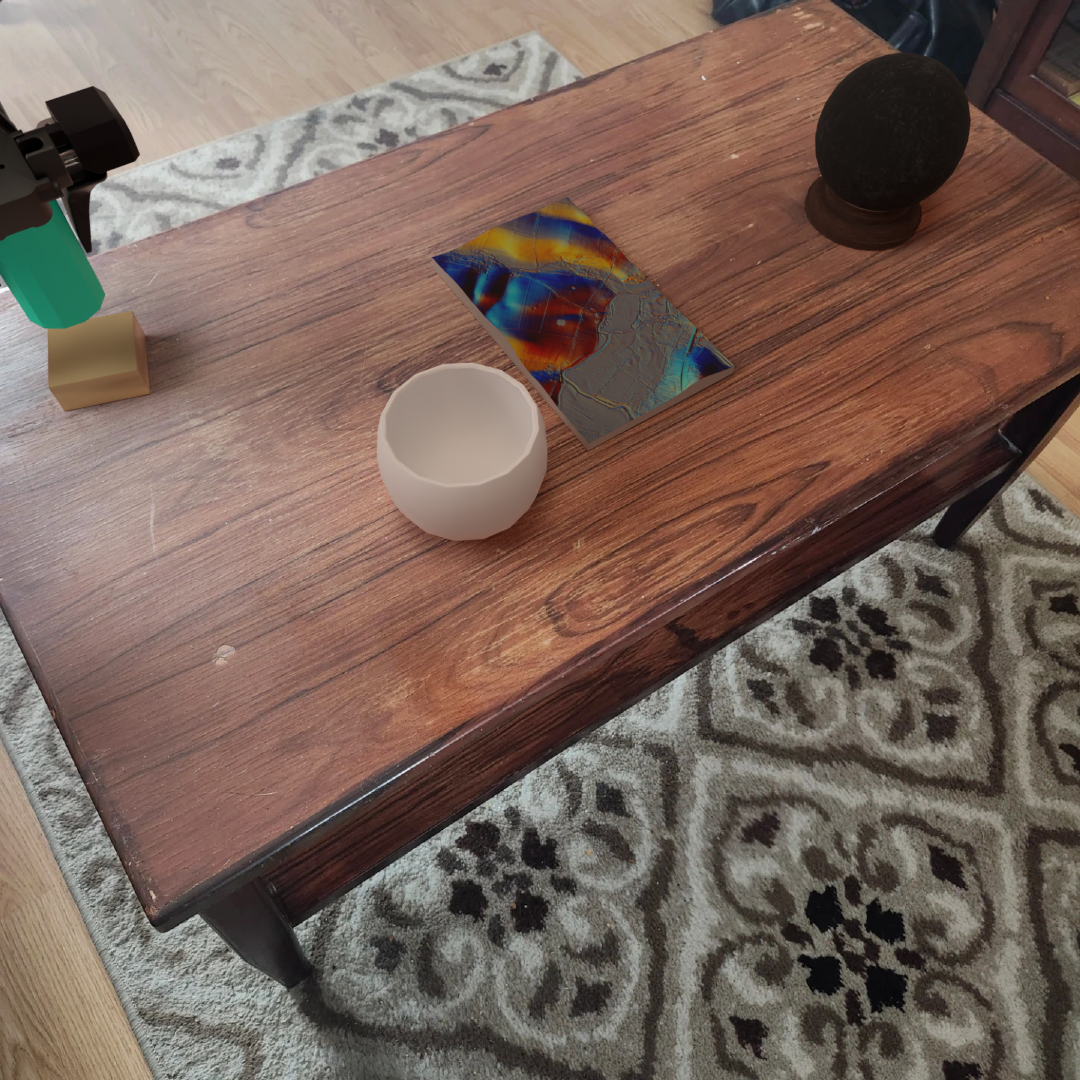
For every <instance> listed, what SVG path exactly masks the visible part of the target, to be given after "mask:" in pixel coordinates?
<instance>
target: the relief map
mask: <svg viewBox="0 0 1080 1080" xmlns="http://www.w3.org/2000/svg"><path fill="white" fill-rule="evenodd" d="M431 266H432V269H433V270H434V271H435V272H436V273H437V275H438V276H439V277H440V278H441V279H442V280H443V282H444V283H445V284H446V286H448V288H449V289H450V290H451V291H452V292H453V294H454V295H455V296H456V297H457V298H458V299H459V301H460V302H461V303H462V304H463V306H465V308H466V309H467V310H468V311H469V313H471V315H472V316H473V317H474V318H475V319H476V320H477V322H478V323H479V324H480V325H481V326H482V328H483V329H484V330H485V332H487V334H488V335H489V336H490V337H491V339H492V340H493V341H494V342H495V343H496V344H497V345H498V346H499V347H500V349H501V350H502V351H503V352H504V354H505V355H506V356H507V357H508V358H509V359H510V361H511V362H512V363H513V364H514V366H515V367H516V369H518V370H519V371H520V373H521V374H522V375H523V376H524V377H525V378H526V380H527V381H528V382H529V383H530V384H531V385H532V387H533V388H534V389H535V390H536V391H537V392H538V394H539V395H540V396H541V397H542V398H543V400H544V401H545V402H546V403H547V404H548V405H549V407H550V408H551V409H552V410H553V412H555V414H556V415H557V416H558V417H559V418H560V419H561V421H562V422H563V423H564V424H565V425H566V427H567V428H568V429H569V430H570V432H571V433H572V434H573V435H574V436H575V437H576V439H577V440H578V441H579V442H580V443H581V445H583V447H584V448H585V449H586V450H587V451H590V450H592V449H594V448H596V447H598V446H599V445H601V444H603V443H605V442H607V441H609V440H611V439H612V438H615V437H617V436H618V435H620V434H622V433H624V432H625V431H627V430H629V429H631V428H634V427H635V426H637V425H639V424H641V423H643V422H644V421H646V420H648V419H650V418H652V417H654V416H656V415H657V414H659V413H661V412H663V411H665V410H667V409H669V408H671V407H672V406H674V405H676V404H678V403H680V402H682V401H684V400H685V399H687V398H690V397H691V396H693V395H695V394H696V393H699V392H701V391H703V390H704V389H706V388H708V387H710V386H712V385H714V384H715V383H717V382H720V381H721V380H723V379H726V378H727V377H729V376H730V375H733V374H734V369H735V366H736V365H734V364H733V362H732V361H731V360H730V359H729V358H728V357H726V356H725V354H723V353H722V352H721V350H719V349H718V348H717V346H715V345H714V344H713V343H712V342H711V341H710V340H709V339H708V338H707V337H706V336H705V335H704V334H703V333H702V332H701V331H700V330H699V328H698V327H697V326H695V325H694V324H693V323H692V322H691V321H690V320H689V319H688V318H687V317H686V316H685V315H684V314H683V313H681V311H679V310H678V308H676V307H675V306H674V305H673V304H672V303H671V302H670V300H668V299H667V298H666V297H665V295H664V294H662V293H661V291H660V290H658V289H657V287H655V286H654V285H653V284H652V283H651V281H649V279H647V278H646V276H645V275H644V273H643V272H642V271H641V270H640V269H638V268H637V266H635V265H634V264H633V262H631V261H630V260H629V258H628V257H627V256H626V255H625V254H624V252H622V251H621V248H620V247H618V246H617V244H615V242H614V241H613V240H611V239H610V238H609V237H608V235H606V234H605V233H603V232H602V231H601V230H600V229H599V228H597V226H596V225H595V224H594V223H593V222H592V220H591V219H590V218H589V217H588V215H587V214H586V213H585V212H583V210H582V209H580V207H579V206H577V204H576V203H575V202H574V201H572V199H571V198H569V197H568V196H566V197H564V198H562V199H560V200H558V201H555V202H553V203H550V204H549V205H546V206H544V207H542V208H540V209H539V210H536V211H533V212H530V213H526V214H524V215H522V216H518V217H516V218H514V219H511V220H508V221H505V222H503V223H501V224H498V225H496V226H494V227H492V228H490V229H488V230H486V231H485V232H483V233H481V234H480V235H478V236H477V237H475V238H474V239H471V240H470V241H468V242H466V243H463V244H462V245H460V246H458V247H456V248H454V249H452V250H450V251H447V252H444V253H441V254H438V255H434V256H431Z"/></svg>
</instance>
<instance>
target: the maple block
mask: <svg viewBox="0 0 1080 1080" xmlns="http://www.w3.org/2000/svg"><path fill="white" fill-rule="evenodd" d="M146 340H147V339H146V334H145V332H144V330H143V328H142V326H141V324H140V322H139V320H138V319H137V316H136V314H135V312H134V310H127V311H122V312H118V313H112V314H107V315H101V316H96V317H90V318H89V319H88V320H87V321H86V322H83V323H80V324H77V325H75V326H72V327H69V328H66V329H47V385H48V386H47V388H48V389H49V391H50V393H51V394H52V395H53V397H54V398H55V401H57V402H58V404H59V405H60V407H61V409H62V410H63V411H64V412H68V411H73V410H78V409H81V408H87V407H92V406H96V405H102V404H107V403H111V402H117V401H122V400H126V399H131V398H136V397H140V396H146V395H151V387H150V385H151V384H150V374H149V365H148V364H149V363H148V354H147V342H146Z"/></svg>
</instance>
